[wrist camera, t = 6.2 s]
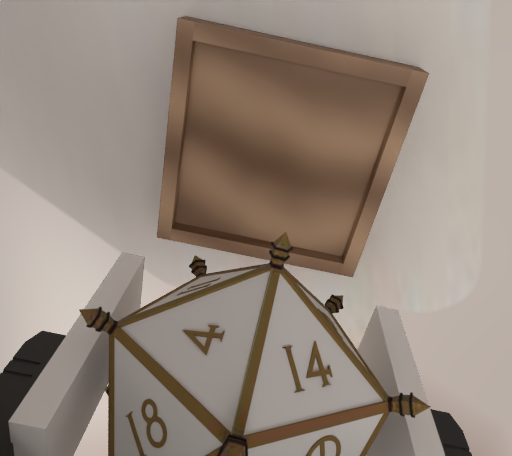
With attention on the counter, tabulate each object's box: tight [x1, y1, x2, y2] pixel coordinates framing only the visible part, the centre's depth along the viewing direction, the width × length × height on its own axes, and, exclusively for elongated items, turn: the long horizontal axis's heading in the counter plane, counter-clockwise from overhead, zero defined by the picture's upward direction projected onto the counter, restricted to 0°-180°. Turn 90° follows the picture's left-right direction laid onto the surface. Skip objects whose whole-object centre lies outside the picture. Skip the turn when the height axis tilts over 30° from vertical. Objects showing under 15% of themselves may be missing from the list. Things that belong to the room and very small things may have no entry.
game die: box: [80, 232, 430, 456], centre depth 12 cm, size 9×8×10 cm
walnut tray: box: [157, 16, 429, 277], centre depth 30 cm, size 15×15×2 cm
